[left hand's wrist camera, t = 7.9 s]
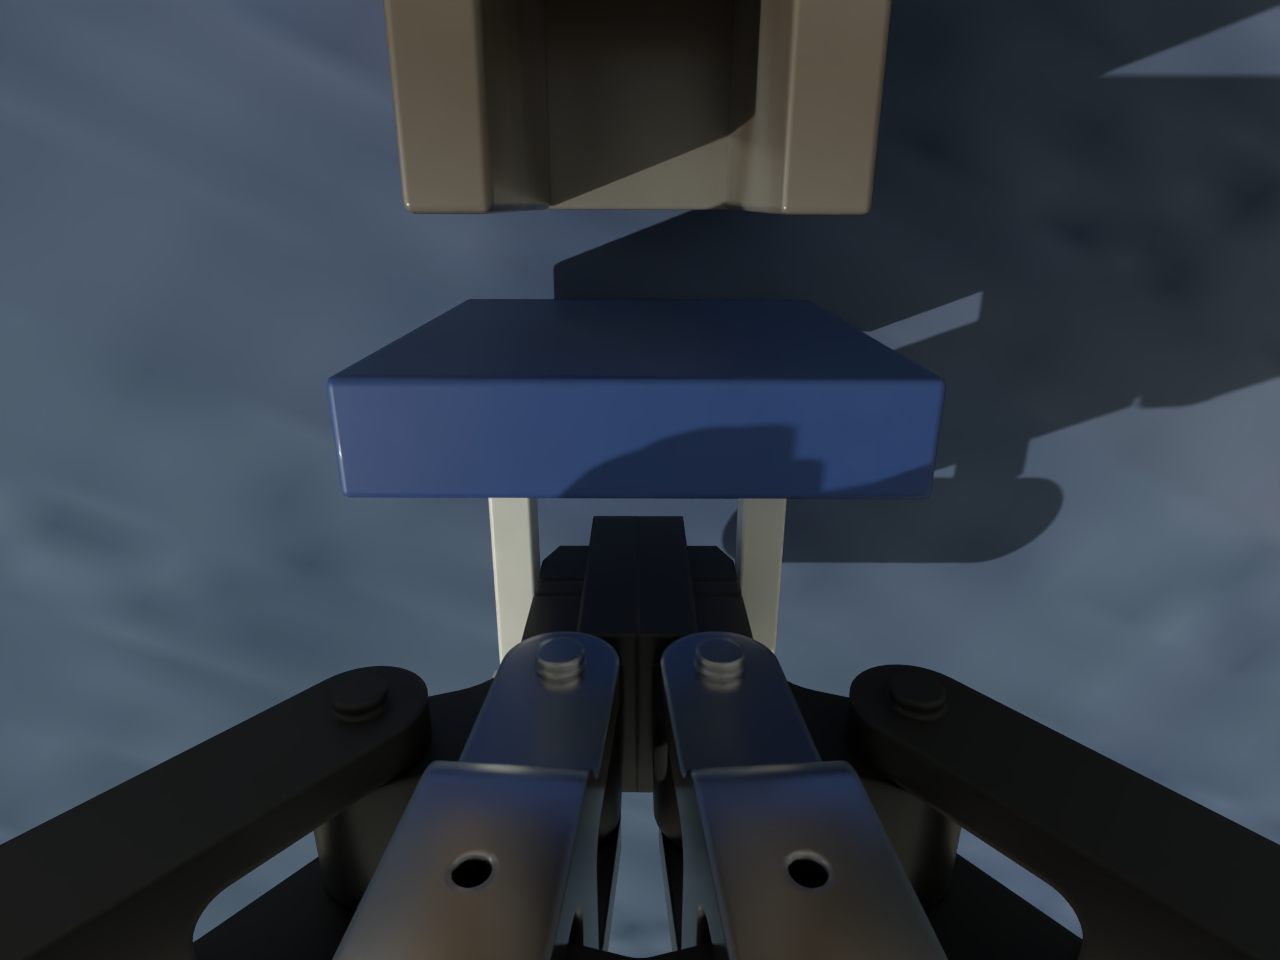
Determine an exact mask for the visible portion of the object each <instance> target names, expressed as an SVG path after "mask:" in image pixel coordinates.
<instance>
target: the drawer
mask: <svg viewBox="0 0 1280 960" xmlns="http://www.w3.org/2000/svg"><path fill="white" fill-rule="evenodd" d="M383 4H384V14H385V25H386V35H387V45H388V55H389V66H390V76H391V86H392V96H393V107H394V117H395V127H396V137H397V148H398V158H399V168H400V178H401V189H402V199H403V204H404V206H405V208H406V210H407V211H409V212H412V213H414V214H489V213H503V212H517V211H530V210H544V209H587V210H737V211H748V212H760V213H772V214H784V215H864V214H866V213H868V212H869V210H870V208H871V204H872V194H873V184H874V174H875V164H876V154H877V144H878V134H879V124H880V114H881V104H882V94H883V84H884V74H885V64H886V54H887V44H888V34H889V24H890V14H891V4H892V0H383ZM327 390H328V397H329V404H330V411H331V418H332V425H333V432H334V439H335V447H336V454H337V461H338V468H339V475H340V482H341V489H342V492H343V494H344V496H347V497H391V498H489V512H490V526H491V540H492V555H493V569H494V583H495V597H496V612H497V626H498V640H499V654H500V664H501V662H502V660H503V658H504V656H505V655H506V654H507V653H508V651H509V650H510V649H512V648H513V647H514V646H515V645H517V644H519V643H520V642H521V640H522V636H523V633H524V629H525V625H526V621H527V618H528V614H529V610H530V607H531V603H532V599H533V596H534V592H535V588H536V584H537V582H538V577H539V573H540V551H539V530H538V508H537V498H711V499H738V510H737V530H736V550H735V569H736V573H737V577H738V582H739V585H740V589H741V593H742V597H743V600H744V604H745V608H746V612H747V616H748V620H749V624H750V628H751V632H752V635H753V639H754V640H756V641H758V642H760V643H762V644H763V645H765V646H766V647H767V648H769V649H770V650H771V651H772V652H773V653H774V655H775V648H776V635H777V621H778V608H779V594H780V581H781V567H782V553H783V540H784V526H785V513H786V499H925V498H928V497H929V495H930V493H931V488H932V481H933V474H934V467H935V460H936V453H937V446H938V439H939V433H940V426H941V419H942V412H943V405H944V398H945V391H946V385H945V382H944V380H943V379H942V378H940V377H938V376H937V375H935V374H933V373H931V372H930V371H928V370H926V369H925V368H923V367H921V366H919V365H918V364H916V363H914V362H913V361H911V360H909V359H908V358H906V357H904V356H902V355H901V354H899V353H897V352H896V351H894V350H892V349H890V348H889V347H887V346H885V345H884V344H882V343H880V342H879V341H877V340H875V339H873V338H872V337H870V336H868V335H867V334H865V333H863V332H861V331H860V330H858V329H856V328H855V327H853V326H851V325H850V324H848V323H846V322H844V321H843V320H841V319H839V318H838V317H836V316H834V315H832V314H831V313H829V312H827V311H826V310H824V309H822V308H821V307H819V306H817V305H815V304H814V303H812V302H810V301H808V300H575V299H469V300H467V301H465V302H463V303H461V304H460V305H458V306H456V307H454V308H453V309H451V310H449V311H447V312H445V313H444V314H442V315H440V316H438V317H437V318H435V319H433V320H431V321H429V322H428V323H426V324H424V325H422V326H421V327H419V328H417V329H415V330H413V331H412V332H410V333H408V334H406V335H404V336H403V337H401V338H399V339H397V340H396V341H394V342H392V343H390V344H388V345H387V346H385V347H383V348H381V349H380V350H378V351H376V352H374V353H372V354H371V355H369V356H367V357H365V358H364V359H362V360H360V361H358V362H356V363H355V364H353V365H351V366H349V367H348V368H346V369H344V370H342V371H340V372H339V373H337V374H335V375H333V376H332V377H330V378H329V380H328V383H327ZM498 669H499V668H498ZM498 669H497V670H496V671H495V673H494V675H493V678H494V677H495V676H496V673H497V671H498Z"/></svg>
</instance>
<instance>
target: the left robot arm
mask: <svg viewBox="0 0 1280 960" xmlns="http://www.w3.org/2000/svg"><path fill="white" fill-rule="evenodd" d="M622 792H653V800H654V816H655V819H656V822H657V825H658V826H659V852H660V859H661V867H662V875H663V883H664V890H665V898H666V906H667V913H668V921H669V929H670V937H671V944H672V952H670V953H666V954H662V955H658V956H654V957H648V958H632V957H626V956H622V955H618V954H614V953H610V952H608V946H609V938H610V930H611V922H612V915H613V907H614V899H615V891H616V884H617V876H618V868H619V861H620V853H621V795H622ZM961 827H962V828H964V829H965V830H967V831H968V832H970V833H972V834H973V835H975V836H976V837H978V838H979V839H981V840H982V841H984V842H985V843H987V844H988V845H990V846H991V847H993V848H994V849H996V850H997V851H999V852H1000V853H1002V854H1003V855H1005V856H1007V857H1008V858H1010V859H1011V860H1013V861H1014V862H1016V863H1017V864H1019V865H1020V866H1022V867H1023V868H1025V869H1026V870H1028V871H1029V872H1031V873H1032V874H1034V875H1035V876H1037V877H1038V878H1040V879H1042V880H1043V881H1045V882H1046V883H1048V884H1049V885H1050V886H1052V887H1053V888H1054V889H1055V890H1057V891H1058V892H1059V893H1060V894H1061V895H1062V896H1063V897H1064V898H1065V899H1066V900H1067V902H1068V903H1069V904H1070V906H1071V907H1072V908H1073V910H1074V912H1075V913H1076V915H1077V917H1078V919H1079V921H1080V924H1081V928H1082V932H1083V939H1081V938H1079V937H1078V936H1076V935H1075V934H1073V933H1072V932H1071V931H1069V930H1068V929H1066V928H1065V927H1063V926H1062V925H1060V924H1059V923H1057V922H1056V921H1055V920H1053V919H1052V918H1050V917H1049V916H1047V915H1046V914H1044V913H1043V912H1041V911H1040V910H1039V909H1037V908H1036V907H1034V906H1033V905H1031V904H1030V903H1028V902H1027V901H1025V900H1024V899H1023V898H1021V897H1020V896H1018V895H1017V894H1015V893H1014V892H1012V891H1011V890H1009V889H1008V888H1007V887H1005V886H1004V885H1002V884H1001V883H999V882H998V881H996V880H995V879H993V878H992V877H991V876H989V875H988V874H986V873H985V872H983V871H982V870H980V869H979V868H977V867H976V866H975V865H973V864H972V863H970V862H969V861H967V860H966V859H964V858H963V857H961V856H960V855H959V854H957V853H956V852H957V847H958V842H959V837H960V831H961ZM313 830H314V835H315V840H316V846H317V851H318V856H319V857H317V858H316V859H314V860H313V861H312V862H310V863H309V864H307V865H306V866H304V867H303V868H301V869H300V870H298V871H297V872H296V873H294V874H293V875H291V876H290V877H288V878H287V879H285V880H284V881H282V882H281V883H280V884H278V885H277V886H275V887H274V888H272V889H271V890H269V891H268V892H266V893H265V894H264V895H262V896H261V897H259V898H258V899H256V900H255V901H253V902H252V903H250V904H249V905H248V906H246V907H245V908H243V909H242V910H240V911H239V912H237V913H236V914H234V915H233V916H232V917H230V918H229V919H227V920H226V921H224V922H223V923H221V924H220V925H218V926H217V927H216V928H214V929H213V930H211V931H210V932H208V933H207V934H205V935H204V936H202V937H201V938H200V939H198V940H196V941H195V942H193V933H194V929H195V926H196V924H197V921H198V919H199V917H200V916H201V914H202V912H203V911H204V909H205V908H206V907H207V905H208V904H209V903H210V902H211V901H212V900H213V899H214V898H215V897H216V896H217V895H218V894H219V893H220V892H221V891H223V890H224V889H225V888H227V887H228V886H230V885H231V884H233V883H234V882H236V881H237V880H239V879H240V878H242V877H243V876H245V875H246V874H248V873H249V872H251V871H252V870H254V869H255V868H257V867H258V866H260V865H262V864H263V863H265V862H266V861H268V860H269V859H271V858H272V857H274V856H275V855H277V854H278V853H280V852H281V851H283V850H284V849H286V848H287V847H289V846H290V845H292V844H294V843H295V842H297V841H298V840H300V839H301V838H303V837H304V836H306V835H307V834H309V833H310V832H312V831H313ZM0 960H1280V845H1279V844H1277V843H1275V842H1273V841H1271V840H1269V839H1267V838H1265V837H1263V836H1261V835H1259V834H1257V833H1255V832H1253V831H1251V830H1249V829H1247V828H1245V827H1243V826H1241V825H1239V824H1237V823H1235V822H1233V821H1231V820H1230V819H1228V818H1226V817H1224V816H1222V815H1220V814H1218V813H1216V812H1214V811H1212V810H1210V809H1208V808H1206V807H1204V806H1202V805H1200V804H1198V803H1196V802H1194V801H1192V800H1190V799H1188V798H1186V797H1184V796H1182V795H1180V794H1178V793H1176V792H1174V791H1172V790H1170V789H1168V788H1167V787H1165V786H1163V785H1161V784H1159V783H1157V782H1155V781H1153V780H1151V779H1149V778H1147V777H1145V776H1143V775H1141V774H1139V773H1137V772H1135V771H1133V770H1131V769H1129V768H1127V767H1125V766H1123V765H1121V764H1119V763H1117V762H1115V761H1113V760H1111V759H1109V758H1107V757H1105V756H1104V755H1102V754H1100V753H1098V752H1096V751H1094V750H1092V749H1090V748H1088V747H1086V746H1084V745H1082V744H1080V743H1078V742H1076V741H1074V740H1072V739H1070V738H1068V737H1066V736H1064V735H1062V734H1060V733H1058V732H1056V731H1054V730H1052V729H1050V728H1048V727H1046V726H1044V725H1042V724H1041V723H1039V722H1037V721H1035V720H1033V719H1031V718H1029V717H1027V716H1025V715H1023V714H1021V713H1019V712H1017V711H1015V710H1013V709H1011V708H1009V707H1007V706H1005V705H1003V704H1001V703H999V702H997V701H995V700H993V699H991V698H989V697H987V696H985V695H983V694H981V693H979V692H978V691H976V690H974V689H972V688H970V687H968V686H966V685H964V684H962V683H960V682H958V681H956V680H954V679H952V678H950V677H948V676H945V675H943V674H941V673H938V672H935V671H932V670H929V669H925V668H921V667H916V666H910V665H883V666H877V667H874V668H870V669H868V670H866V671H863V672H862V673H860V674H859V675H858V676H857V677H856V678H855V679H854V680H853V682H852V684H851V687H850V694H849V698H848V697H844V696H839V695H834V694H829V693H824V692H819V691H815V690H811V689H807V688H803V687H800V686H798V685H795V684H792V683H790V682H788V681H787V680H786V678H785V675H784V673H783V671H782V668H781V666H780V664H779V662H778V660H777V658H776V656H775V655H774V653H773V652H772V651H771V650H770V649H769V648H767V647H766V646H765V645H763V644H762V643H760V642H758V641H756V640H754V639H753V635H752V632H751V628H750V624H749V620H748V616H747V612H746V608H745V604H744V600H743V597H742V593H741V589H740V585H739V582H738V577H737V573H736V569H735V566H734V562H733V560H732V559H731V558H729V557H728V556H727V555H726V554H725V553H724V552H723V551H721V550H720V549H719V548H718V547H717V546H687V544H686V536H685V529H684V522H683V516H594V517H593V523H592V530H591V537H590V544H589V546H559V547H558V548H557V549H556V550H555V551H554V552H552V553H551V554H550V555H549V556H548V557H547V558H545V559H544V560H543V562H542V566H541V569H540V573H539V577H538V582H537V584H536V588H535V592H534V596H533V599H532V603H531V607H530V610H529V614H528V618H527V621H526V625H525V629H524V633H523V636H522V640H521V642H520V643H519V644H517V645H515V646H514V647H513V648H512V649H510V650H509V651H508V653H507V654H506V655H505V656H504V658H503V660H502V662H501V664H500V667H499V669H498V671H497V673H496V676H495V677H494V678H492V679H490V680H488V681H486V682H484V683H482V684H479V685H476V686H473V687H471V688H467V689H463V690H459V691H454V692H449V693H444V694H439V695H434V696H429V697H428V691H427V687H426V685H425V683H424V681H423V680H422V679H421V678H420V677H419V676H418V675H416V674H415V673H413V672H411V671H409V670H406V669H402V668H398V667H391V666H373V667H364V668H358V669H354V670H350V671H347V672H344V673H341V674H338V675H335V676H333V677H331V678H329V679H326V680H324V681H322V682H320V683H319V684H317V685H315V686H313V687H311V688H309V689H307V690H305V691H303V692H301V693H299V694H297V695H295V696H293V697H291V698H289V699H287V700H285V701H283V702H281V703H279V704H277V705H275V706H273V707H271V708H269V709H267V710H265V711H263V712H261V713H259V714H257V715H255V716H254V717H252V718H250V719H248V720H246V721H244V722H242V723H240V724H238V725H236V726H234V727H232V728H230V729H228V730H226V731H224V732H222V733H220V734H218V735H216V736H214V737H212V738H210V739H208V740H206V741H204V742H202V743H200V744H198V745H196V746H194V747H192V748H190V749H189V750H187V751H185V752H183V753H181V754H179V755H177V756H175V757H173V758H171V759H169V760H167V761H165V762H163V763H161V764H159V765H157V766H155V767H153V768H151V769H149V770H147V771H145V772H143V773H141V774H139V775H137V776H135V777H133V778H131V779H129V780H127V781H126V782H124V783H122V784H120V785H118V786H116V787H114V788H112V789H110V790H108V791H106V792H104V793H102V794H100V795H98V796H96V797H94V798H92V799H90V800H88V801H86V802H84V803H82V804H80V805H78V806H76V807H74V808H72V809H70V810H68V811H66V812H64V813H62V814H61V815H59V816H57V817H55V818H53V819H51V820H49V821H47V822H45V823H43V824H41V825H39V826H37V827H35V828H33V829H31V830H29V831H27V832H25V833H23V834H21V835H19V836H17V837H15V838H13V839H11V840H9V841H7V842H5V843H3V844H1V845H0Z"/></svg>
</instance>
